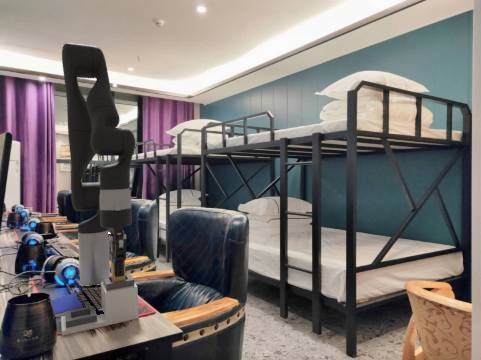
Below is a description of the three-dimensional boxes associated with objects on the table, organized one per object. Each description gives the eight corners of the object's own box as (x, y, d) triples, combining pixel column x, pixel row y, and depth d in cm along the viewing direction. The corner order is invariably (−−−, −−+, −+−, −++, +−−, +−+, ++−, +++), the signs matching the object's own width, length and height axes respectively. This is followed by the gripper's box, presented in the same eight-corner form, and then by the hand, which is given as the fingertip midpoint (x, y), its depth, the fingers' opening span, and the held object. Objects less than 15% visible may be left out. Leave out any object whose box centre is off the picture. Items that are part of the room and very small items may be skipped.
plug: (111, 283, 88) (110, 252, 88) (123, 281, 90) (122, 251, 89) (113, 287, 85) (111, 255, 85) (126, 284, 87) (124, 253, 86)
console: (61, 320, 85) (59, 282, 85) (131, 305, 93) (130, 271, 93) (61, 335, 77) (60, 294, 77) (138, 318, 86) (137, 280, 85)
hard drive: (46, 299, 97) (53, 313, 87) (77, 292, 102) (87, 305, 92) (46, 305, 97) (53, 320, 87) (77, 297, 102) (88, 311, 92)
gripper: (96, 205, 91) (99, 269, 92) (103, 210, 79) (106, 285, 79) (126, 203, 95) (128, 265, 95) (136, 208, 82) (139, 279, 83)
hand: (118, 274), depth 87 cm, fingers closed on plug, 3 cm apart
